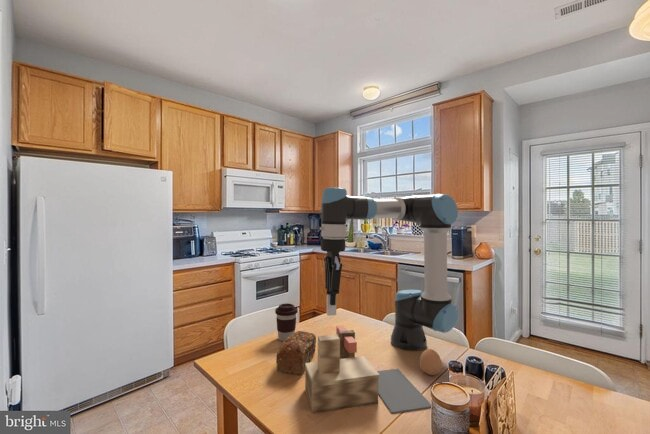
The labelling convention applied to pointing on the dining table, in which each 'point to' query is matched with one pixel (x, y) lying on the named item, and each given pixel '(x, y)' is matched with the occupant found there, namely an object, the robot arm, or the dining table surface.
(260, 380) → the dining table surface
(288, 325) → the coffee cup
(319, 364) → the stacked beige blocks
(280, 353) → the bread
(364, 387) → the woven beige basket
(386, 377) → the mat
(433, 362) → the egg
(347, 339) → the red block
